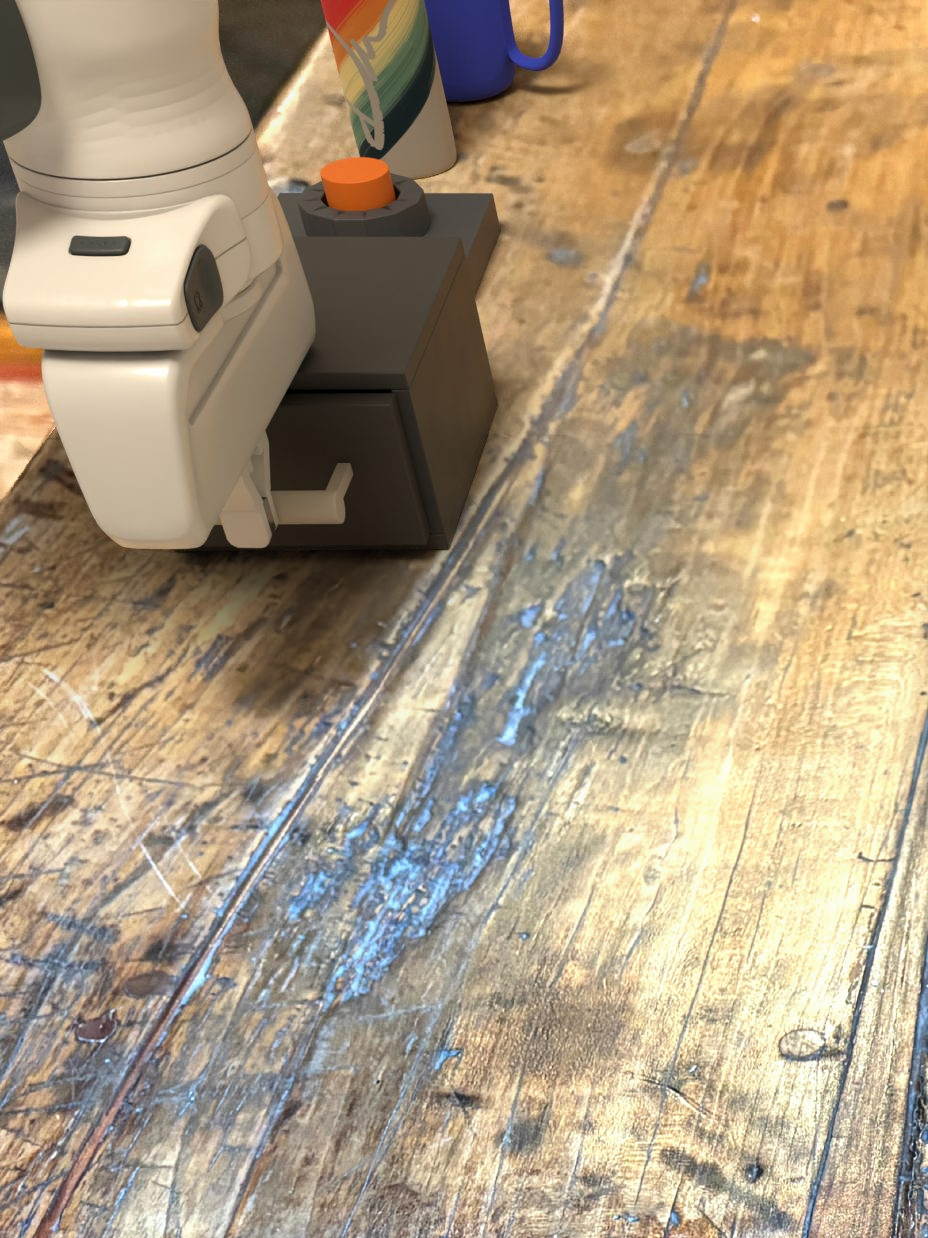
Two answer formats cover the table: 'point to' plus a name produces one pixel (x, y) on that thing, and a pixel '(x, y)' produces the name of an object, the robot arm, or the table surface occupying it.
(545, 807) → the table surface
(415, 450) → the cabinet
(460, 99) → the mug
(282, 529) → the drawer
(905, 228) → the table surface
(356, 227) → the button block
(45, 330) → the robot arm
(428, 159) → the lotion bottle
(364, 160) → the button
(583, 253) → the table surface
